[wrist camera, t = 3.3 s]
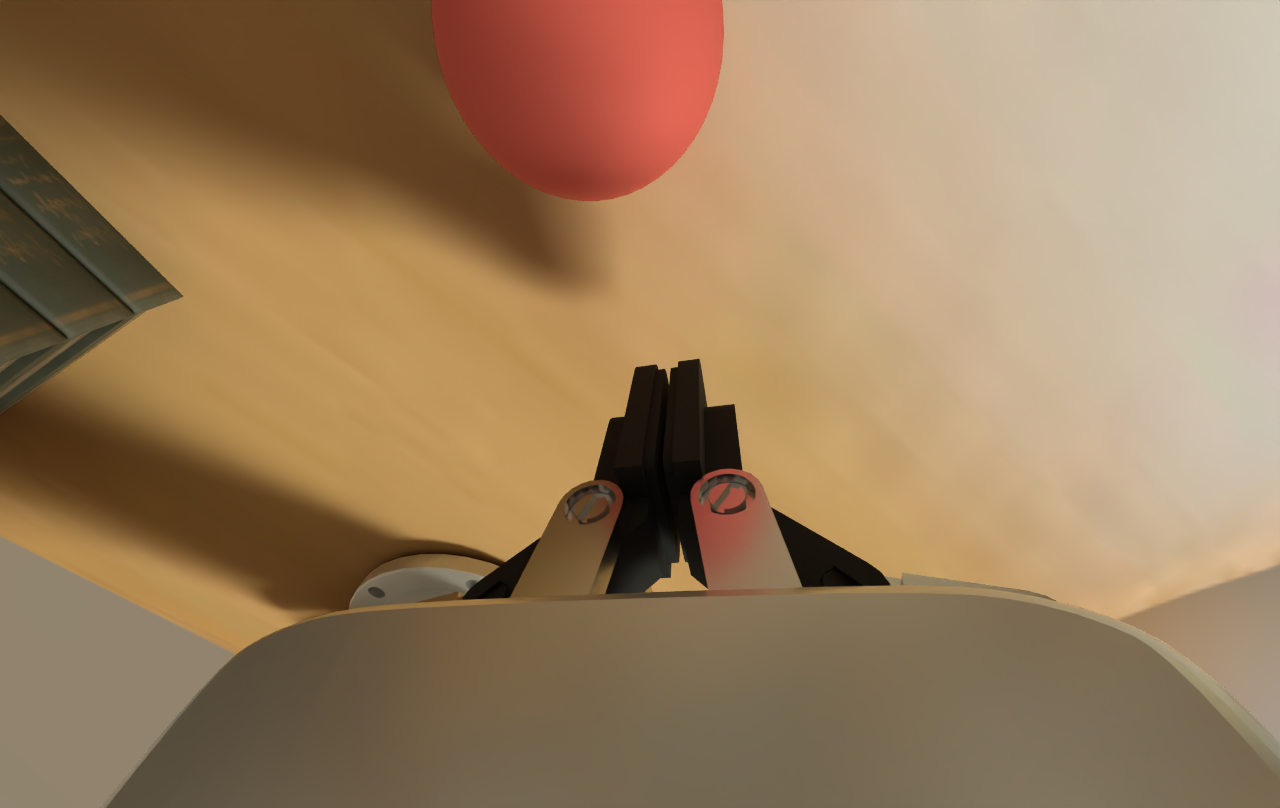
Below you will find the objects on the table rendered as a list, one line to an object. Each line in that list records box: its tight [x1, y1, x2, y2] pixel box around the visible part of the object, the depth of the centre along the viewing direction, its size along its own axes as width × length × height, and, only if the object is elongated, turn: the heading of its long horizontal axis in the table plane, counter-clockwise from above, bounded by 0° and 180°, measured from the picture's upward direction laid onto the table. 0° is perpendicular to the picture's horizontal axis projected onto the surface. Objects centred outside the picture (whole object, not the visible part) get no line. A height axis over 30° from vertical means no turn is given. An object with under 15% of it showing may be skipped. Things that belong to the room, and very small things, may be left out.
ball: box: [432, 0, 724, 201], centre depth 10 cm, size 6×6×6 cm
